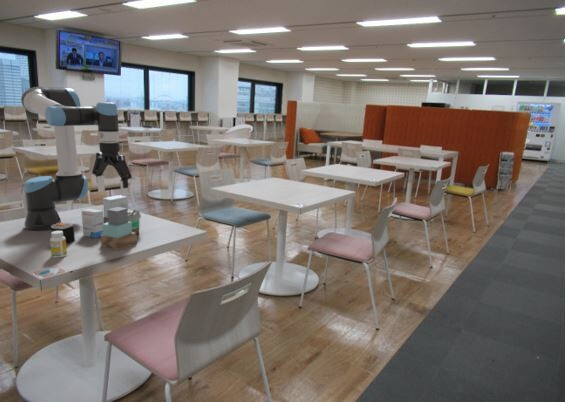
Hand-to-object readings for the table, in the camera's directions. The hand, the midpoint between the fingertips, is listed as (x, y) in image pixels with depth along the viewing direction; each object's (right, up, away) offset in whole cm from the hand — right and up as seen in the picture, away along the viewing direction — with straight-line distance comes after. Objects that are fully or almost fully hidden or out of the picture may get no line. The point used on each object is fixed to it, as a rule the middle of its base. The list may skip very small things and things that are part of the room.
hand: (112, 193), depth 168 cm
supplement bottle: (-17, -25, -9) cm, 31 cm away
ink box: (-15, -19, +16) cm, 29 cm away
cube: (+1, -12, +3) cm, 13 cm away
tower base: (+1, -22, +5) cm, 22 cm away
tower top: (+1, -17, +3) cm, 17 cm away
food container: (+2, -19, +18) cm, 26 cm away
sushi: (-24, -21, +7) cm, 32 cm away
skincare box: (-18, -11, +47) cm, 51 cm away
